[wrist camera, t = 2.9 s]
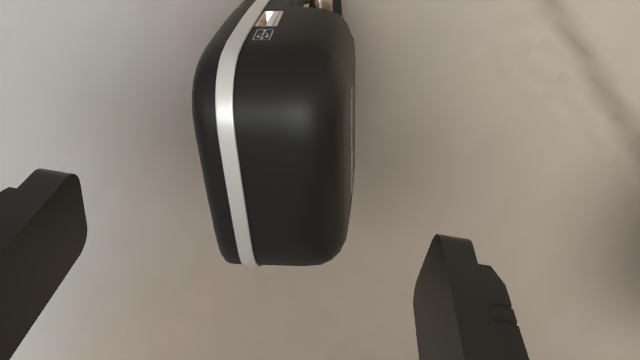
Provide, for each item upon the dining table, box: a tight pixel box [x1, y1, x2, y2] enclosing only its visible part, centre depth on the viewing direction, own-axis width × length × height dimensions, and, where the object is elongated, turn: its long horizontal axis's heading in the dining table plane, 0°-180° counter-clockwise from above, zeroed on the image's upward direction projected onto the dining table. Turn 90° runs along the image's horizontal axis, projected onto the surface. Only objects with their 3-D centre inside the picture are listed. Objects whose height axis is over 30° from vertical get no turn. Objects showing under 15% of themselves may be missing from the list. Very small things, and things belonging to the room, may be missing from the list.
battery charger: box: [192, 0, 355, 269], centre depth 17 cm, size 7×4×11 cm, turn 2°
